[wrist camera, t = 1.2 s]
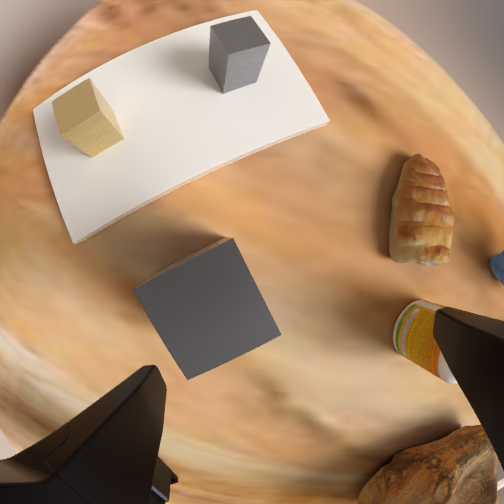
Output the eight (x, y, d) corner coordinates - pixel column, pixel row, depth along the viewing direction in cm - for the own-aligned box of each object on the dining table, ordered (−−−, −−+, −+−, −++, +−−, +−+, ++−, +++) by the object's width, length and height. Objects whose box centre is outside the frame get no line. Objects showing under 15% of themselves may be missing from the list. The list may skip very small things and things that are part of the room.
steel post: (223, 93, 18) (228, 54, 13) (208, 67, 17) (210, 25, 12) (256, 82, 18) (270, 43, 13) (241, 57, 18) (250, 15, 13)
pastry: (382, 152, 21) (410, 140, 18) (436, 166, 22) (463, 159, 19) (382, 264, 22) (411, 269, 18) (436, 264, 23) (465, 268, 19)
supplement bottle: (390, 363, 22) (461, 411, 13) (390, 308, 22) (474, 342, 12) (432, 344, 23) (503, 378, 14) (433, 292, 23) (514, 314, 13)
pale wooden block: (92, 157, 17) (60, 136, 12) (82, 128, 16) (51, 101, 11) (124, 139, 17) (100, 110, 12) (113, 110, 17) (89, 77, 12)
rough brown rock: (484, 418, 28) (546, 446, 13) (427, 498, 26) (476, 539, 11) (415, 389, 25) (515, 439, 10) (333, 498, 23) (388, 577, 9)
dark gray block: (192, 336, 20) (187, 379, 13) (157, 271, 19) (133, 289, 12) (258, 303, 20) (281, 334, 14) (224, 237, 20) (233, 237, 13)
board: (80, 243, 18) (73, 243, 17) (39, 114, 17) (32, 109, 15) (323, 126, 20) (329, 120, 19) (254, 18, 19) (256, 9, 18)
